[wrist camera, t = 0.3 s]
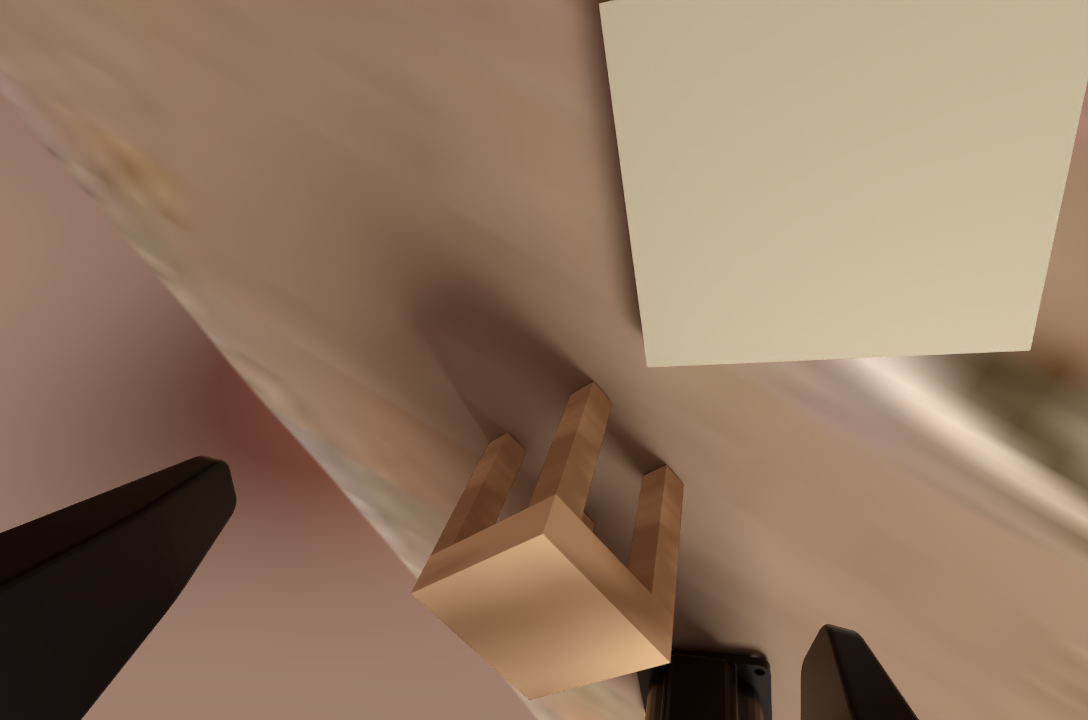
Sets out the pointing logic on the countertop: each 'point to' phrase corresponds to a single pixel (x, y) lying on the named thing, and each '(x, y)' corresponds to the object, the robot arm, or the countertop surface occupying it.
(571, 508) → the maple stool
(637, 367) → the countertop surface
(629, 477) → the countertop surface
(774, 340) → the sage board
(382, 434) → the countertop surface
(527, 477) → the countertop surface
